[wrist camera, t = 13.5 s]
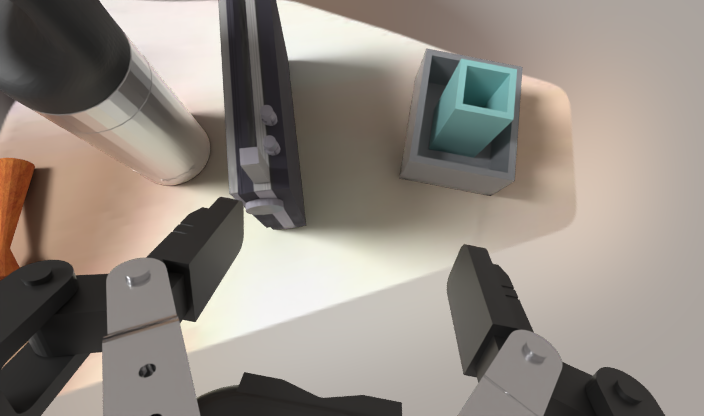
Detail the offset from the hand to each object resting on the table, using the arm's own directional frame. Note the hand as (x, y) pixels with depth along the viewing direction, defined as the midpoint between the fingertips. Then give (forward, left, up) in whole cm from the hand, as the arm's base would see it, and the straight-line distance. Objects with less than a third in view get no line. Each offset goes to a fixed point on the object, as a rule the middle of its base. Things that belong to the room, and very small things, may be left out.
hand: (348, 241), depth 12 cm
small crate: (-9, +22, -28) cm, 37 cm away
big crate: (-9, +22, -29) cm, 37 cm away
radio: (-19, +1, -29) cm, 35 cm away
